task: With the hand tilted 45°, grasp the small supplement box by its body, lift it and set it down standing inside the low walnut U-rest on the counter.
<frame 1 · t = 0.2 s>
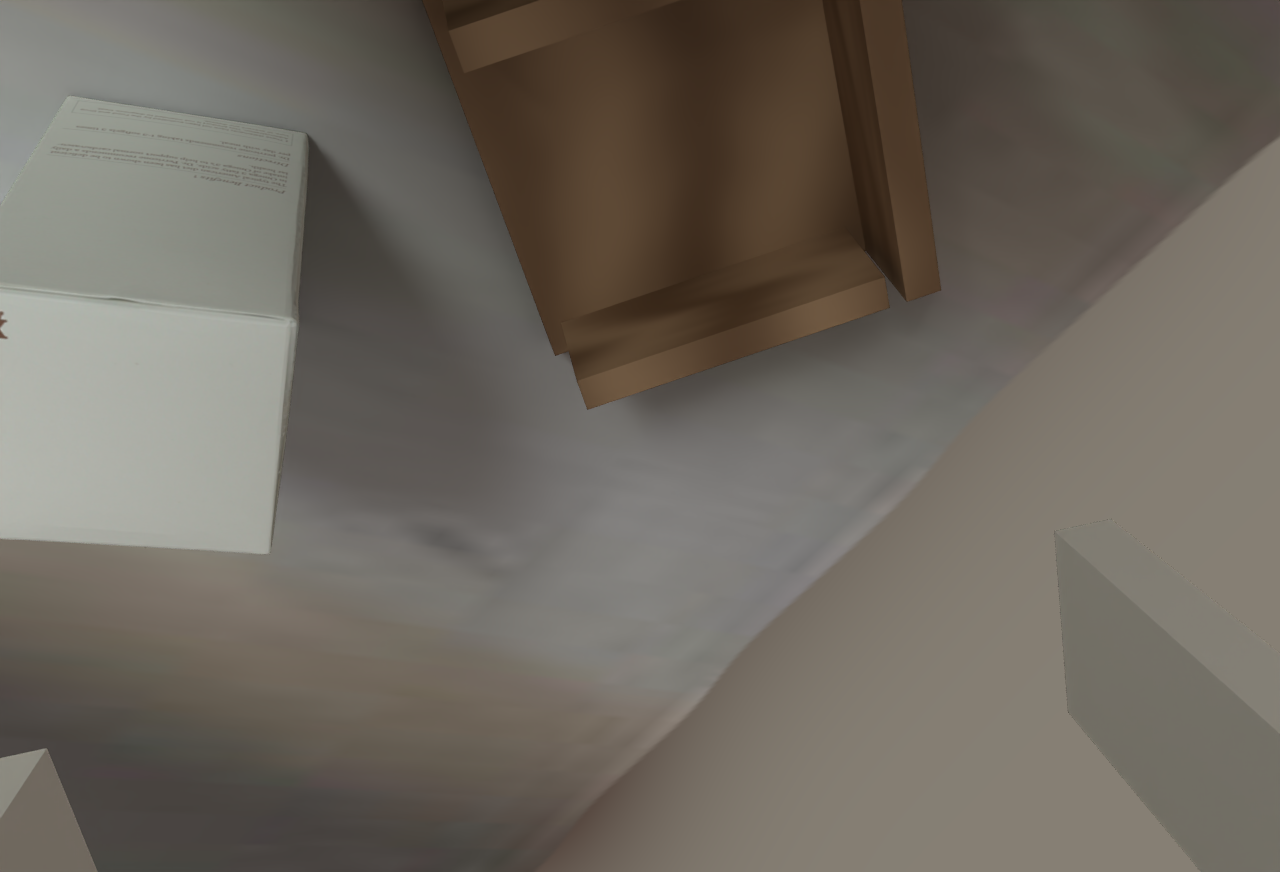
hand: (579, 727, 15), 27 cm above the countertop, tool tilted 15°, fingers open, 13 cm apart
u rest: (676, 121, 40), on the countertop
supplement box: (190, 217, 39), on the countertop
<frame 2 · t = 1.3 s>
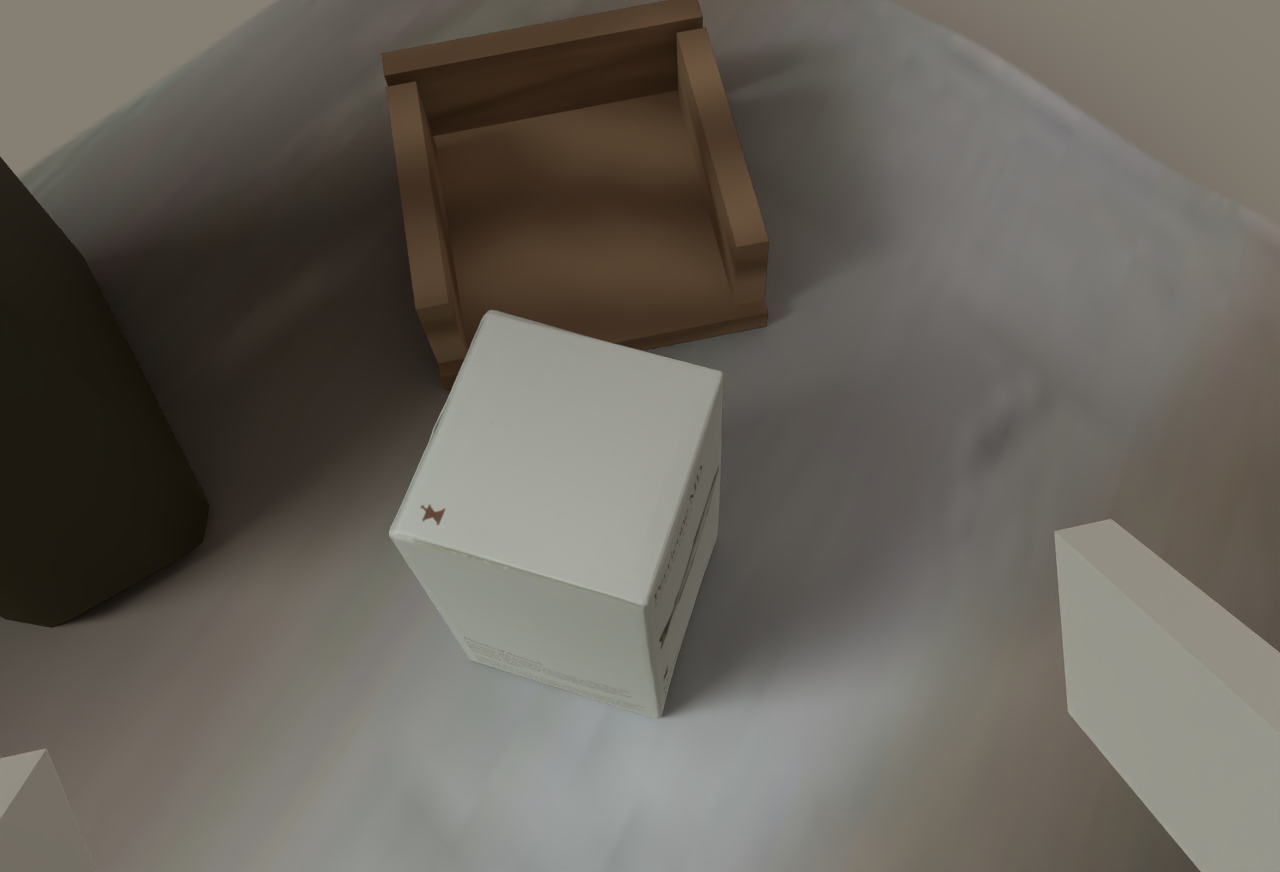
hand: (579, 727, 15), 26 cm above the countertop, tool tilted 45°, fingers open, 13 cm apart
bottle: (62, 438, 47), on the countertop
u rest: (578, 225, 50), on the countertop
supplement box: (597, 598, 43), on the countertop
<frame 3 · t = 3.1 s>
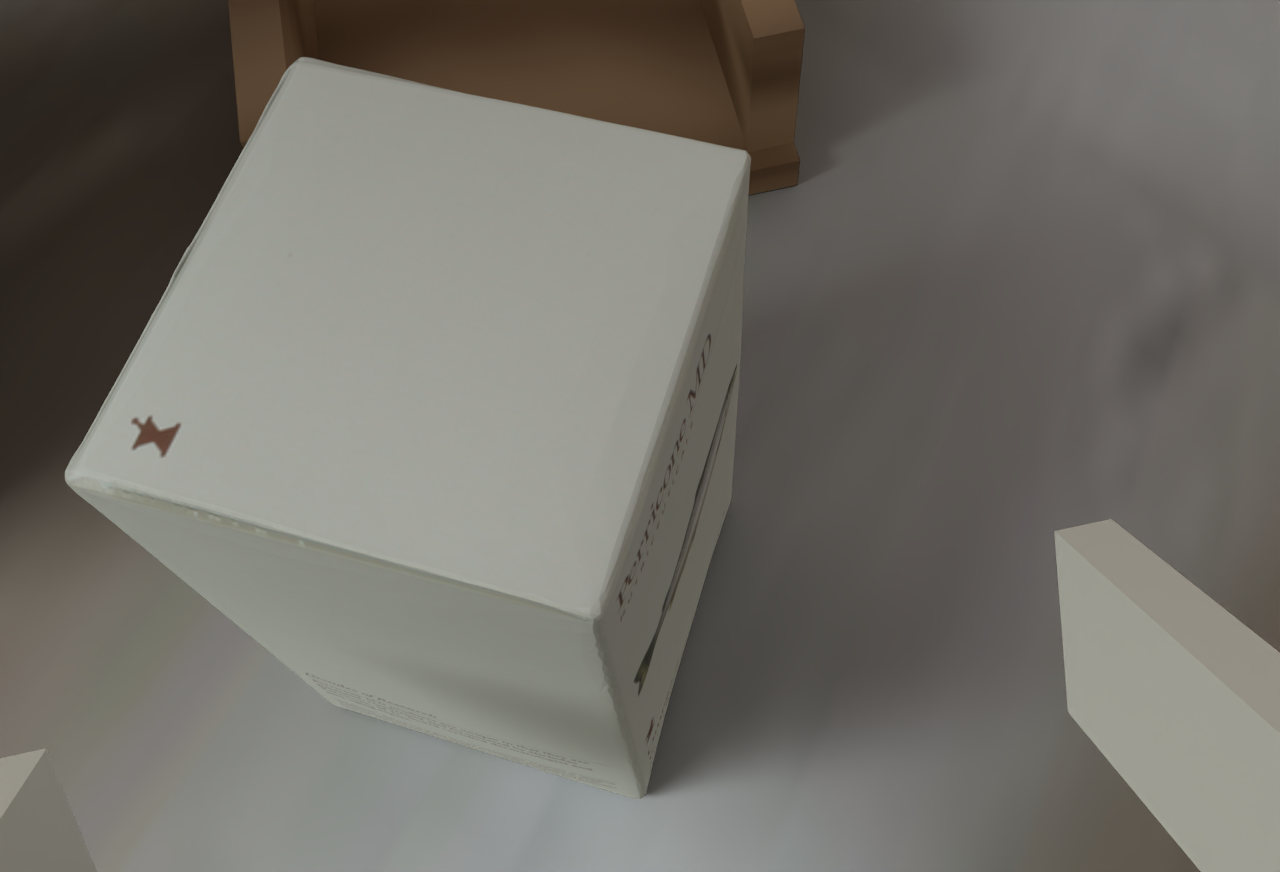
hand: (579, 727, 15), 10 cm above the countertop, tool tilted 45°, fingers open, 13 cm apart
u rest: (514, 51, 34), on the countertop
supplement box: (542, 601, 27), on the countertop
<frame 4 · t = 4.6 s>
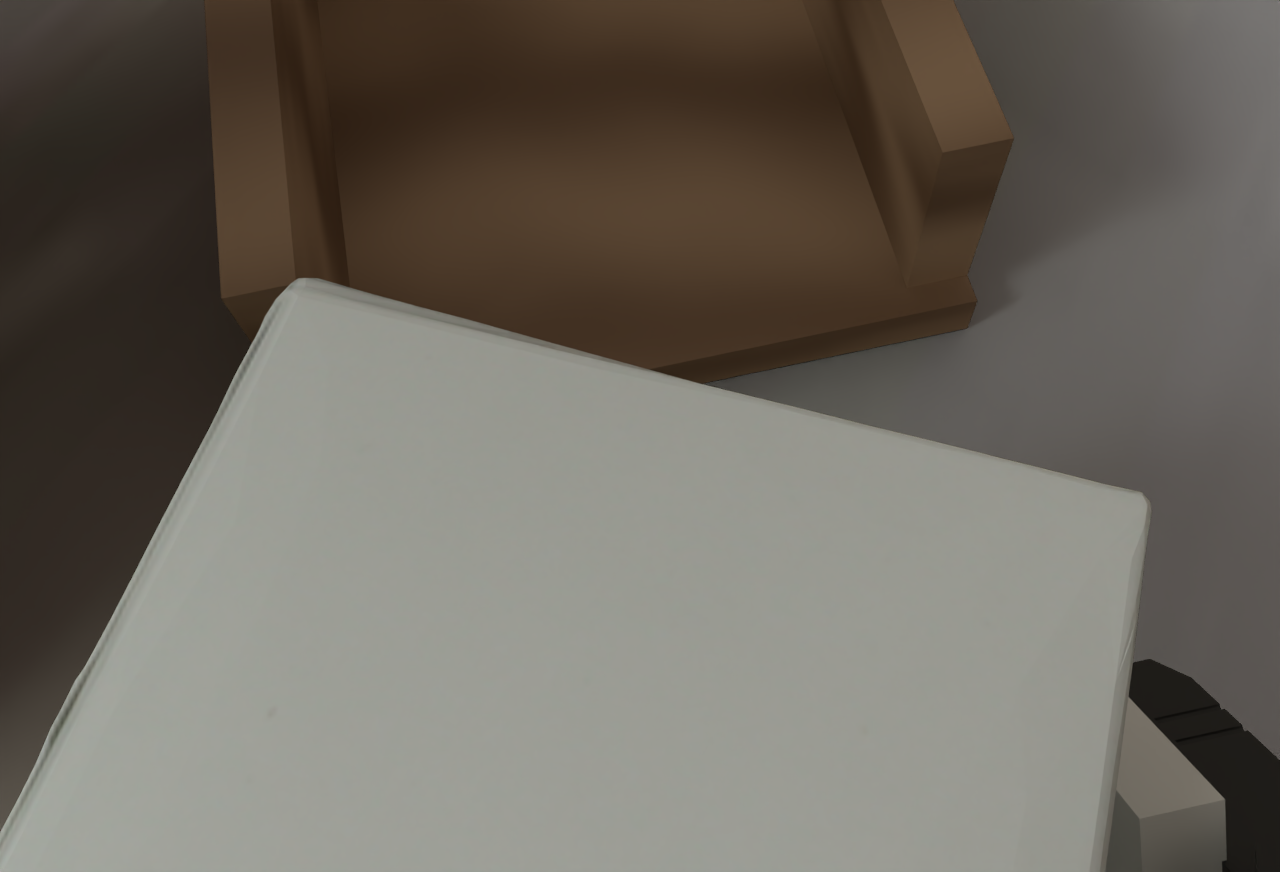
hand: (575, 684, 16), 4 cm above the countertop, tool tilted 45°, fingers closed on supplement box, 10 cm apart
u rest: (586, 140, 26), on the countertop
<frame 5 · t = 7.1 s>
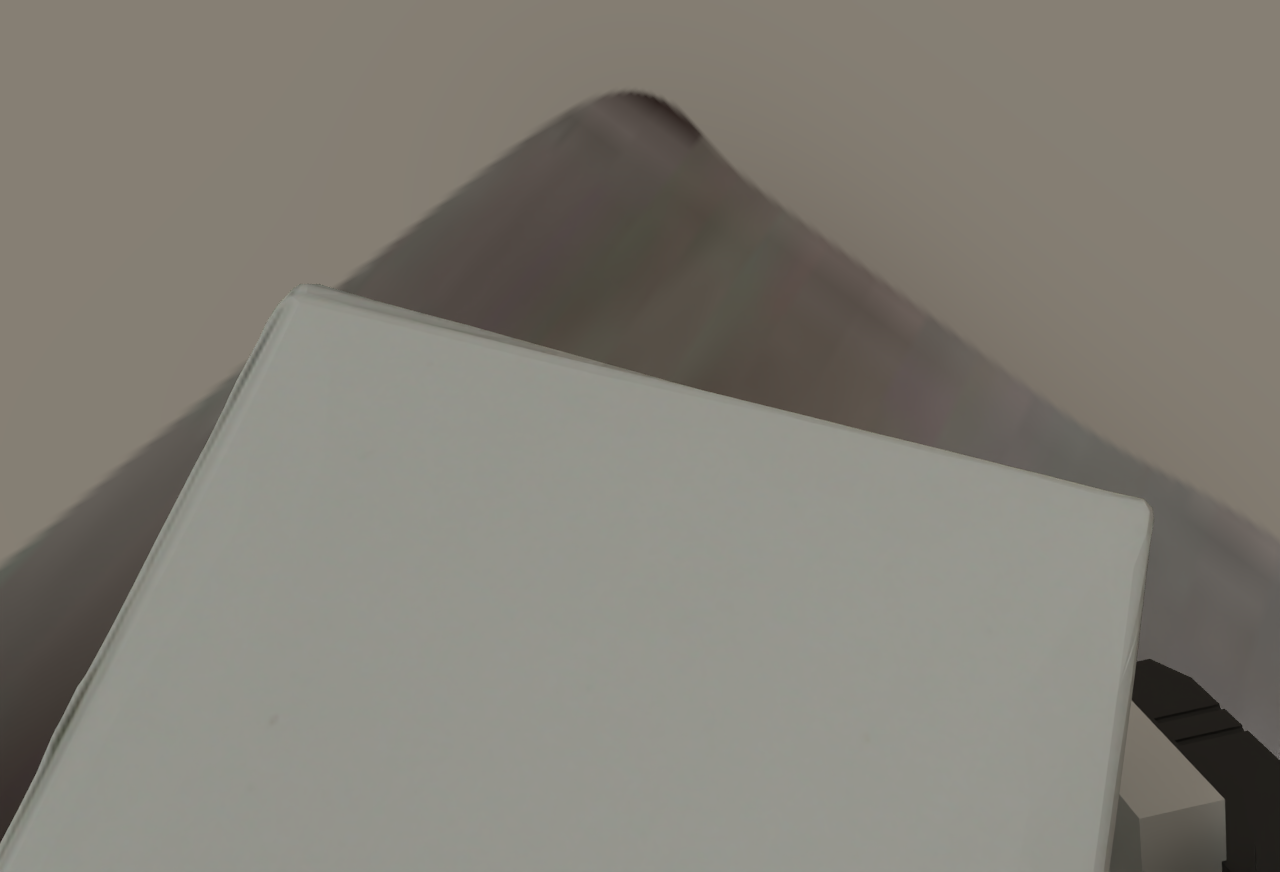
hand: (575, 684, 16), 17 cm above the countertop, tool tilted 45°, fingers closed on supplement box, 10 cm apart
when the fingers open (7 cm above the countertop, at t = 9.7 s): supplement box drops 1 cm, resting on u rest.
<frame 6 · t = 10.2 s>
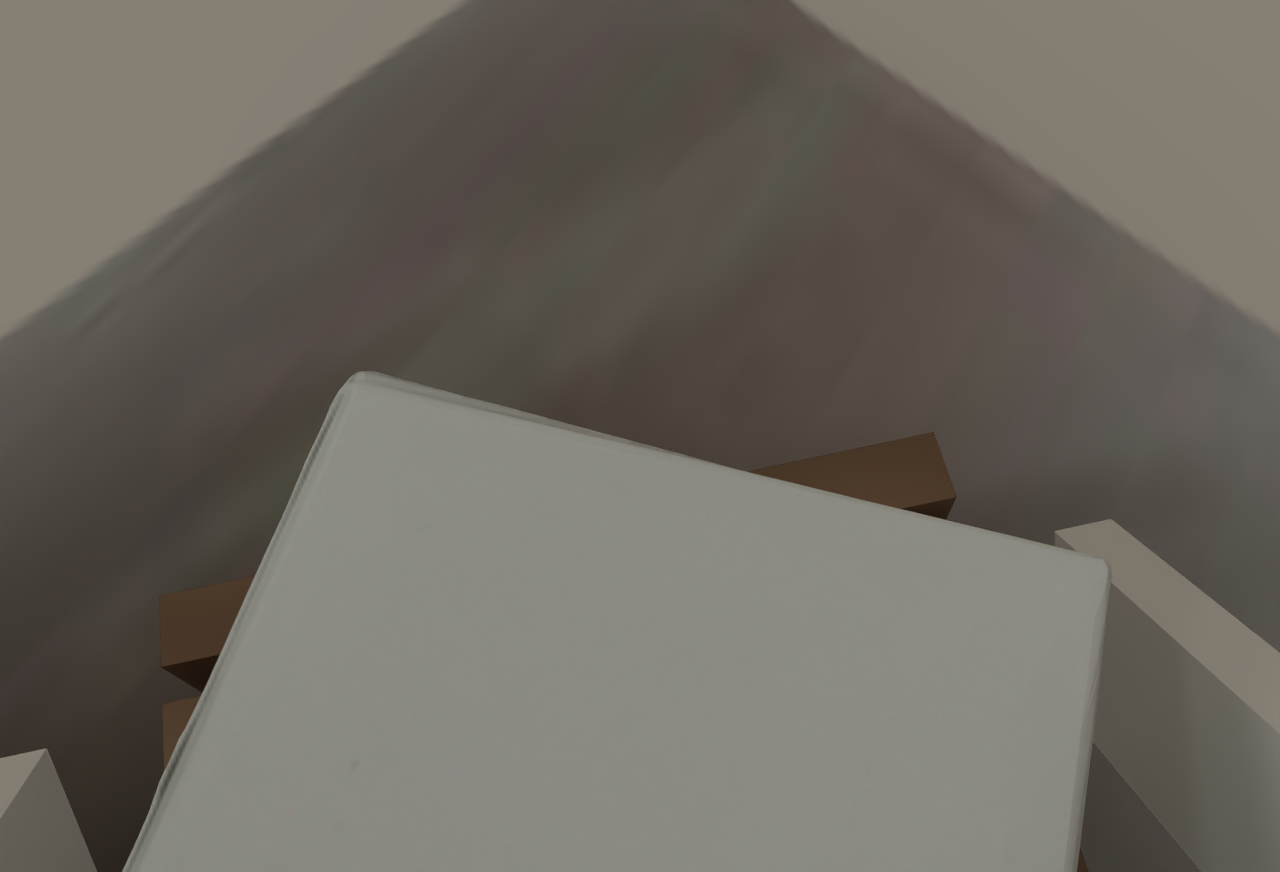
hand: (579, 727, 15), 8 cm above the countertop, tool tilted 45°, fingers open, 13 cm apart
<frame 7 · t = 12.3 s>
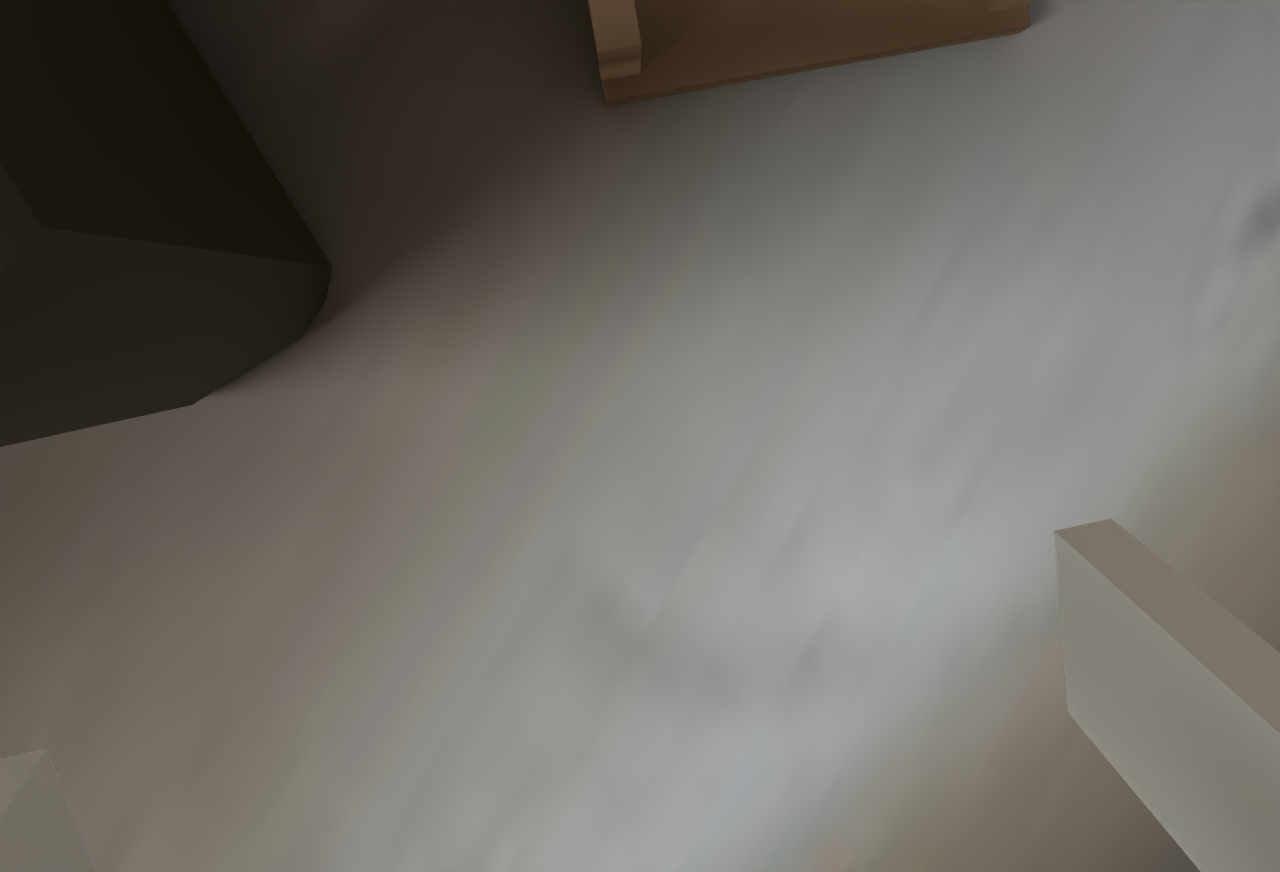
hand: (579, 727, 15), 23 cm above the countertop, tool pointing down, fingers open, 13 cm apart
bottle: (118, 150, 37), on the countertop
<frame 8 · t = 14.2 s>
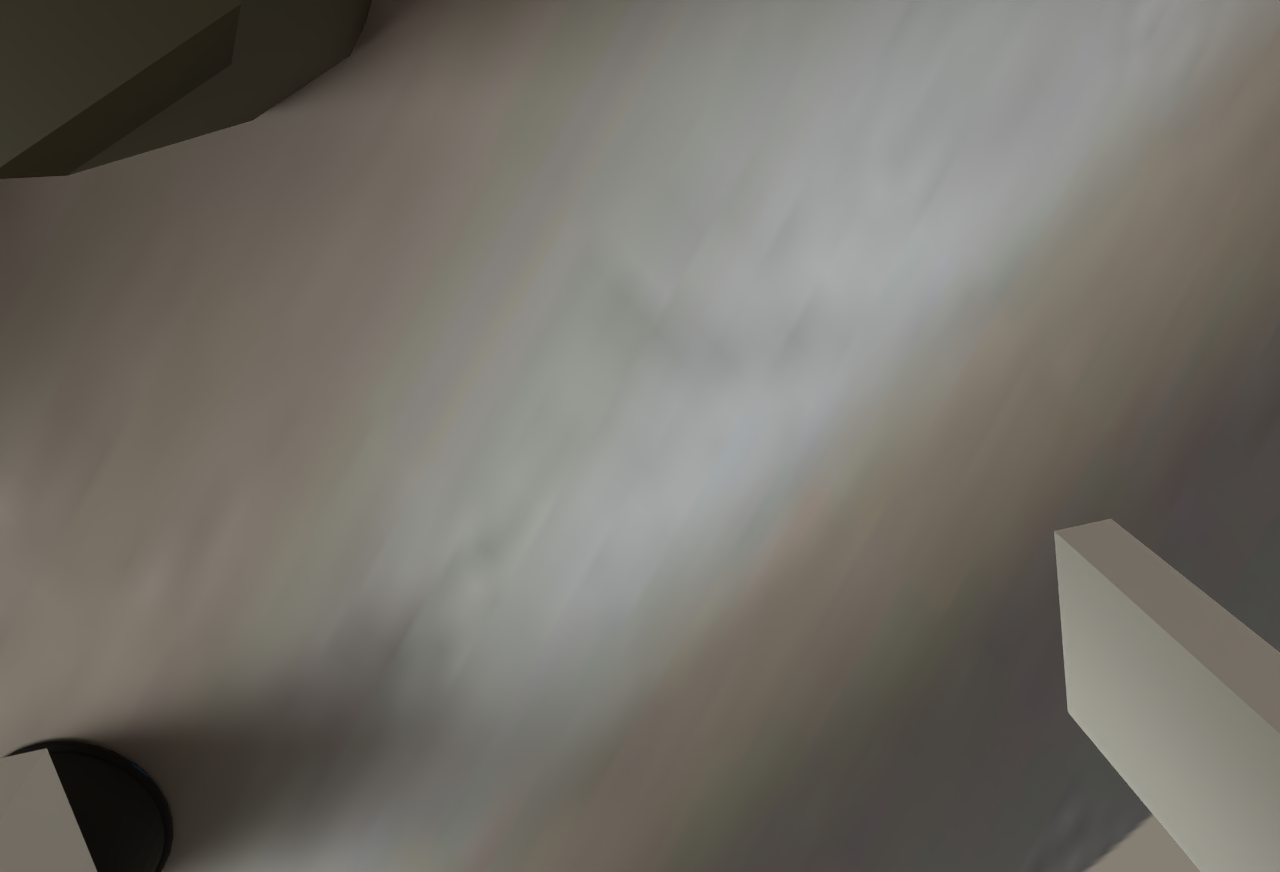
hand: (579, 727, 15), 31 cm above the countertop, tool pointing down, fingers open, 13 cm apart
aerosol can: (73, 822, 50), on the countertop
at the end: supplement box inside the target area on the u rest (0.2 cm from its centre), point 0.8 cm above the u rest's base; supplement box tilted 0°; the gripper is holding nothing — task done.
